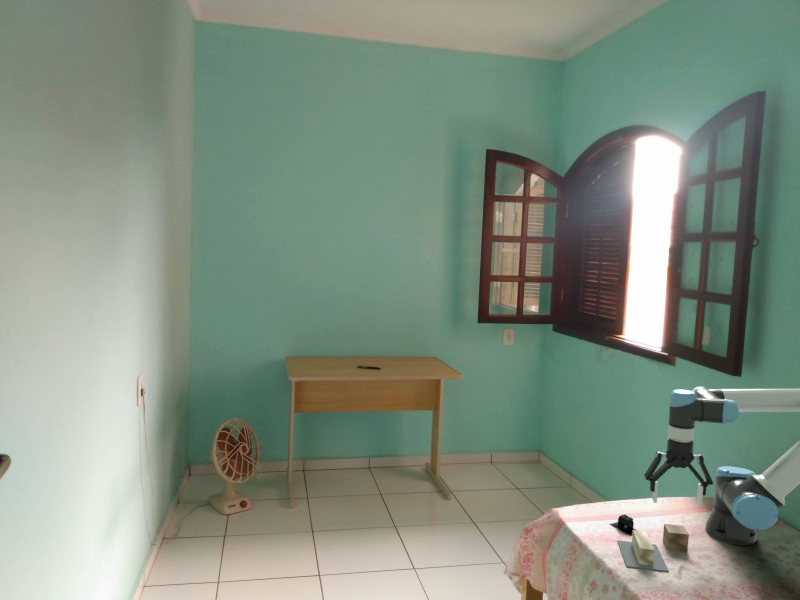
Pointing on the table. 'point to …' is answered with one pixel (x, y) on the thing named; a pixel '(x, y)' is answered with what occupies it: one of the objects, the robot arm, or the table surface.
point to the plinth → (642, 547)
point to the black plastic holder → (624, 524)
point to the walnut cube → (675, 537)
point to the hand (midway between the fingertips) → (676, 502)
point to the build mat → (633, 562)
